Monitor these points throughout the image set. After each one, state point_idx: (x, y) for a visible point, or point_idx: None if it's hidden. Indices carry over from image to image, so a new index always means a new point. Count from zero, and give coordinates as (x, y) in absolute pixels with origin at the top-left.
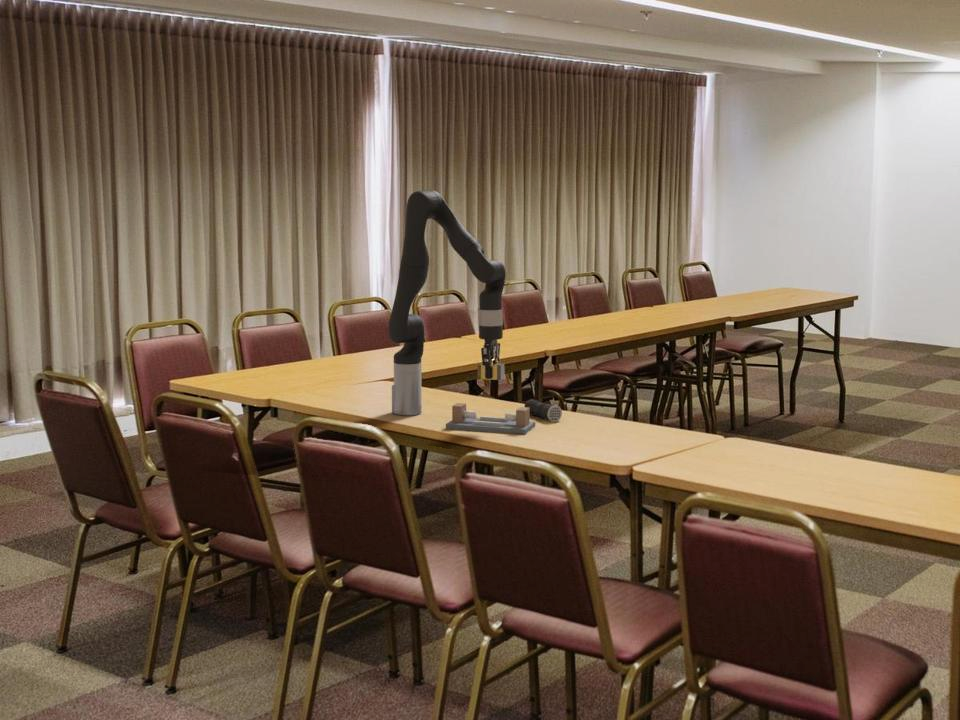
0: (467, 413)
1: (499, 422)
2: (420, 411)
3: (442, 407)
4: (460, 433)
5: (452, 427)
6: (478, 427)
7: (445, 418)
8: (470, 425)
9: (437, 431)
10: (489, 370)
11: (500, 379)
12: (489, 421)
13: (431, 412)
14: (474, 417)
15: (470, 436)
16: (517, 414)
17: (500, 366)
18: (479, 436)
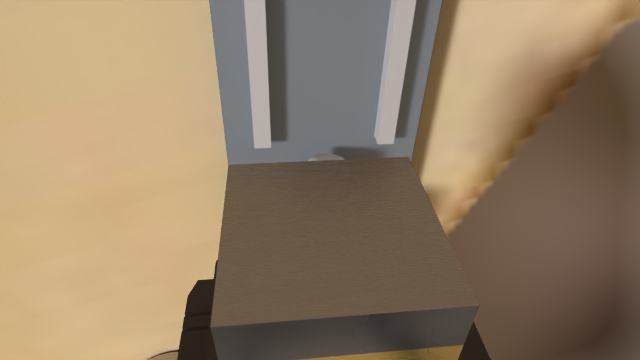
0: None
1: (302, 23)
2: (176, 358)
3: (17, 341)
4: (473, 145)
5: None
6: (420, 98)
7: (207, 274)
8: (410, 140)
9: (444, 226)
10: (475, 335)
11: (409, 163)
12: (292, 85)
13: (129, 337)
14: (342, 159)
15: (533, 89)
16: None
17: (472, 297)
18: (534, 50)
